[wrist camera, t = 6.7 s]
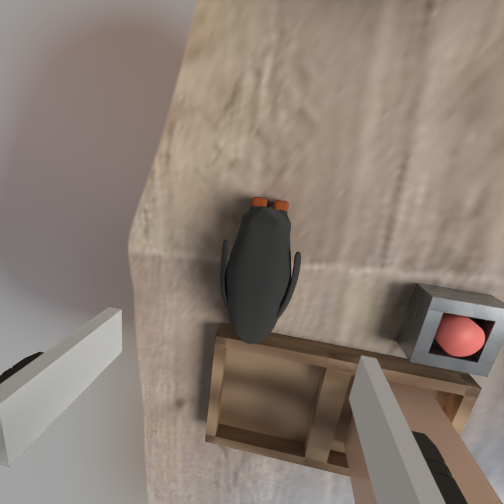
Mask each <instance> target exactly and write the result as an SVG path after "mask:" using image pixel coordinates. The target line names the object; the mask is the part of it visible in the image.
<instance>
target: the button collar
mask: <svg viewBox="0 0 504 504" xmlns="http://www.w3.org/2000/svg"><path fill="white" fill-rule="evenodd" d="M443 312H444V313H450V314H456V315H461V316H467V317H468V318H469V319H471V320H472V321H473V322H474V323H476V324H477V325H478V326H479V327H480V328H481V329H482V330H483V332H484V334H485V341H484V344H483V346H482V347H481V348H480V349H479V350H478V351H477V352H475V353H474V354H471V355H468V356H463V357H458V356H453V355H450V354H449V353H447V352H446V351H445V350H444V349H443V348H442V347H441V346H440V345H439V343H438V342H437V341H436V340H435V339H434V336H435V334H436V331H437V328H438V326H439V323H440V320H441V318H442V315H443ZM503 342H504V303H503V302H502V301H500V300H498V299H497V298H495V297H493V296H492V295H486V294H480V293H474V292H467V291H461V290H455V289H449V288H443V287H437V286H431V285H425V284H419V283H417V285H416V288H415V291H414V294H413V297H412V300H411V303H410V306H409V309H408V312H407V316H406V319H405V322H404V325H403V328H402V331H401V334H400V337H399V340H398V344H399V345H400V347H401V349H402V350H403V352H404V353H405V355H406V356H407V358H408V360H409V361H410V362H413V363H418V364H423V365H428V366H434V367H439V368H444V369H449V370H454V371H459V372H465V373H470V374H475V375H480V376H485V377H488V374H489V372H490V370H491V368H492V366H493V364H494V361H495V359H496V357H497V355H498V353H499V351H500V348H501V346H502V344H503Z"/></svg>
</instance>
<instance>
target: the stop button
mask: <svg viewBox="0 0 504 504" xmlns="http://www.w3.org/2000/svg"><path fill="white" fill-rule="evenodd" d="M434 339H435V340H436V341H437V342H438V343H439V345H440V346H441V347H442V348H443V349H444V350H445V351H446V352H447V353H449V354H450V355H453V356H458V357H463V356H468V355H471V354H474V353H475V352H477V351H478V350H479V349H480V348H481V347H482V346H483V344H484V341H485V334H484V332H483V330H482V329H481V328H480V327H479V326H478V325H477V324H476V323H474V322H473V321H472V320H471V319H469V318H468V317H467V316H461V315H456V314H450V313H444V312H443V315H442V318H441V320H440V323H439V326H438V328H437V331H436V334H435V336H434Z"/></svg>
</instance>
